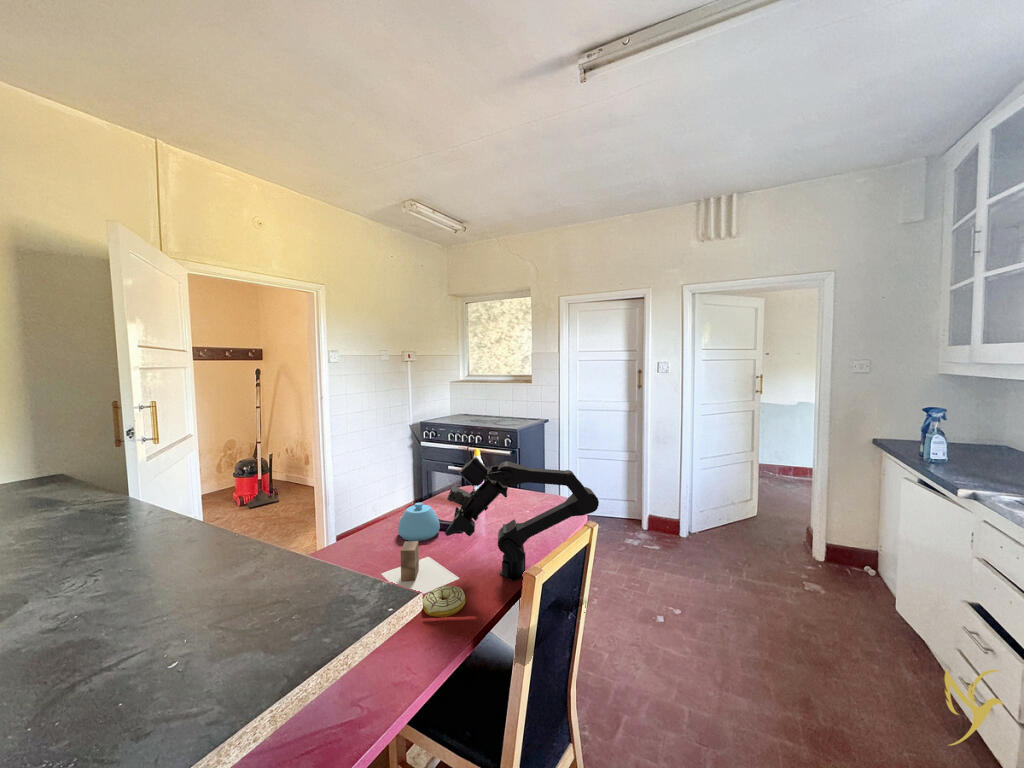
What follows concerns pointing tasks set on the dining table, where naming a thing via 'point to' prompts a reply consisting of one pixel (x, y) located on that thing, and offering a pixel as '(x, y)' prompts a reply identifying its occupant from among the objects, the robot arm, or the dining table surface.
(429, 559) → the rubber mat
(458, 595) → the decorated donut
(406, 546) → the walnut block
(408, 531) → the sugar bowl
